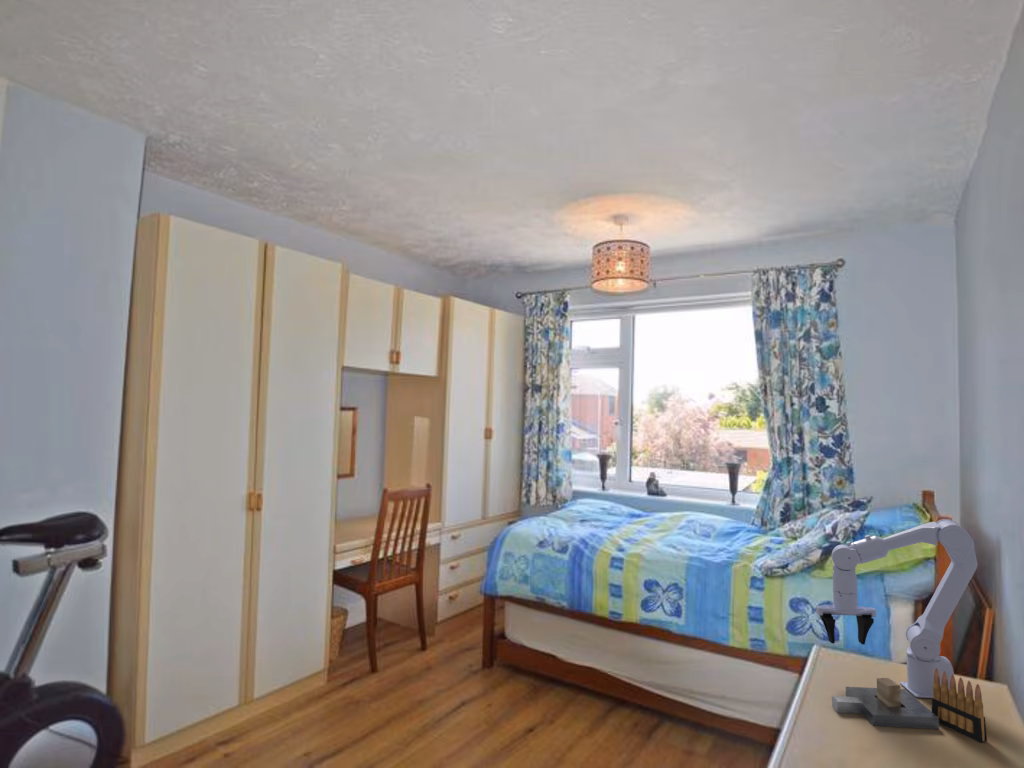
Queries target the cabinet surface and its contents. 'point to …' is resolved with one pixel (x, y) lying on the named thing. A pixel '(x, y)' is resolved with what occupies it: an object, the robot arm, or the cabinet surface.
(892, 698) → the oak wedge
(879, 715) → the steel bracket head
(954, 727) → the ammunition clip
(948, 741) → the cabinet surface
